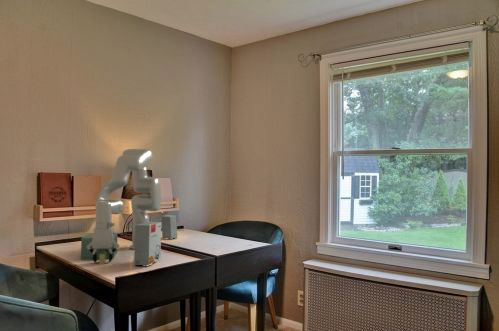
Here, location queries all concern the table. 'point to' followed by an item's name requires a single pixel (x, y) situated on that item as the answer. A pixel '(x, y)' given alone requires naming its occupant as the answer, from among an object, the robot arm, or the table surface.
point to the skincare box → (169, 226)
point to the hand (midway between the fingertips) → (102, 261)
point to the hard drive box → (147, 243)
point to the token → (102, 258)
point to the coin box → (87, 254)
